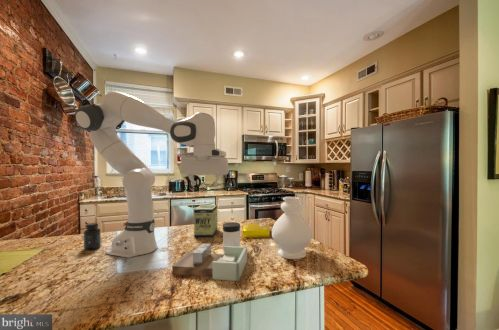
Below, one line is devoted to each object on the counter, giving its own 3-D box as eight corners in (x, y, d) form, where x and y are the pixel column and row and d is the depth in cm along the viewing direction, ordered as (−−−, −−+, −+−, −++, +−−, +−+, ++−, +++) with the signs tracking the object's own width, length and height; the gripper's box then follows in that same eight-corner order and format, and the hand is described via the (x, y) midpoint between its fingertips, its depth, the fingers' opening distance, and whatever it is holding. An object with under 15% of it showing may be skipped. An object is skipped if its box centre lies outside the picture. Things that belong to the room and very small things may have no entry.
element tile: (243, 230, 139) (243, 222, 139) (267, 230, 140) (267, 222, 140) (243, 238, 124) (242, 229, 124) (270, 237, 125) (270, 229, 125)
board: (172, 274, 84) (172, 266, 84) (187, 259, 97) (187, 252, 97) (213, 277, 81) (213, 268, 81) (223, 261, 94) (223, 254, 94)
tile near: (212, 267, 81) (215, 262, 81) (217, 261, 86) (220, 257, 86) (223, 276, 80) (226, 271, 80) (228, 270, 85) (231, 265, 85)
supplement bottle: (80, 251, 108) (80, 225, 108) (90, 245, 115) (89, 222, 115) (95, 250, 108) (94, 225, 108) (103, 245, 115) (103, 222, 115)
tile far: (220, 265, 89) (220, 260, 89) (223, 260, 94) (223, 255, 94) (233, 266, 88) (233, 260, 88) (235, 260, 93) (235, 255, 93)
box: (212, 279, 80) (212, 262, 80) (224, 260, 95) (224, 245, 95) (238, 281, 78) (238, 263, 78) (247, 261, 94) (246, 247, 94)
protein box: (194, 237, 126) (193, 209, 126) (201, 229, 141) (200, 204, 141) (212, 237, 125) (212, 209, 125) (217, 229, 141) (217, 204, 141)
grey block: (193, 264, 85) (192, 252, 85) (202, 254, 95) (202, 243, 95) (202, 265, 84) (201, 253, 84) (210, 254, 94) (210, 243, 94)
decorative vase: (298, 244, 113) (297, 194, 113) (321, 257, 96) (320, 199, 96) (265, 249, 107) (264, 196, 107) (283, 264, 90) (283, 202, 90)
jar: (227, 254, 101) (227, 227, 101) (219, 249, 108) (219, 224, 108) (244, 250, 106) (244, 224, 106) (235, 245, 113) (235, 221, 113)
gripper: (177, 151, 93) (177, 185, 93) (225, 151, 89) (225, 186, 89) (184, 152, 99) (184, 184, 99) (229, 152, 95) (229, 185, 95)
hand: (204, 185), depth 94 cm, fingers open, 8 cm apart
